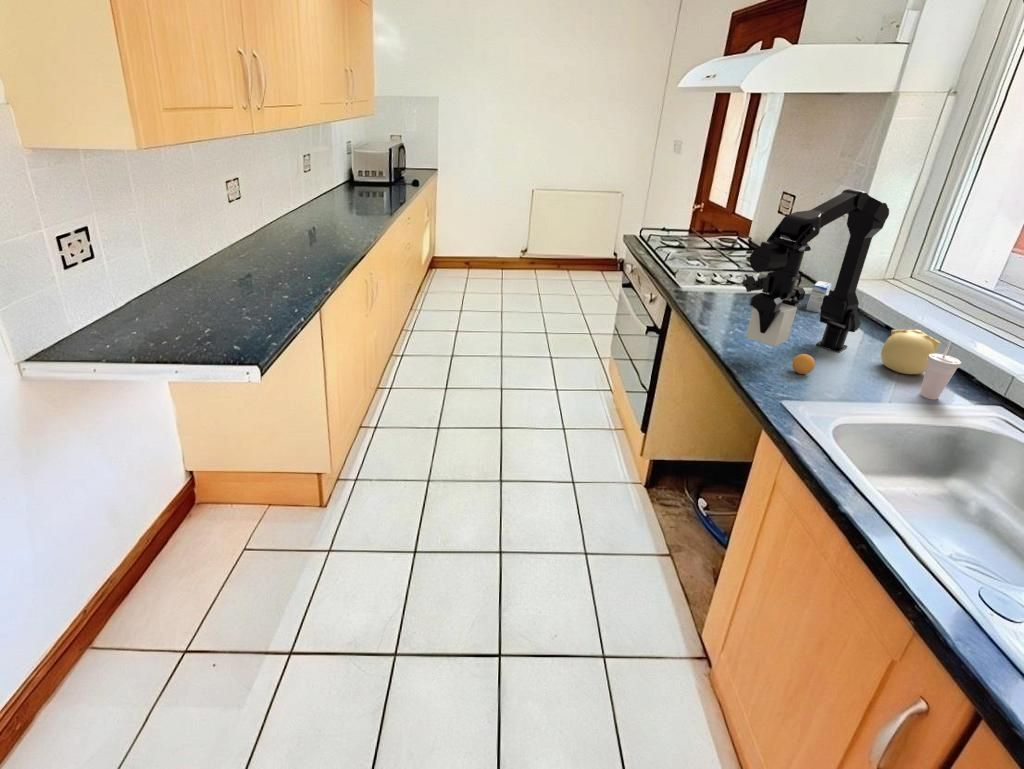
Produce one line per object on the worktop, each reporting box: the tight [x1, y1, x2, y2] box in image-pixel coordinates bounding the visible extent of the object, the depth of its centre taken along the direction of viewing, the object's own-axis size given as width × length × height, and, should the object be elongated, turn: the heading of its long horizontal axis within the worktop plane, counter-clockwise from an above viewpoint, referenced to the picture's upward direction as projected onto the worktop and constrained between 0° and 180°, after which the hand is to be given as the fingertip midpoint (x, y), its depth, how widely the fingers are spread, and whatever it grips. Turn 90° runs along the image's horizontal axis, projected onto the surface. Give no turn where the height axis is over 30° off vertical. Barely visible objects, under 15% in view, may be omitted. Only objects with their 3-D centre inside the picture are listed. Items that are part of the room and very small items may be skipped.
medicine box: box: [806, 280, 832, 314], centre depth 192 cm, size 8×4×9 cm, turn 144°
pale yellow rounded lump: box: [880, 329, 942, 375], centre depth 147 cm, size 12×12×11 cm
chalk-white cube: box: [745, 303, 798, 348], centre depth 145 cm, size 8×8×9 cm
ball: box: [791, 353, 816, 375], centre depth 141 cm, size 5×5×5 cm
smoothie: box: [919, 339, 962, 400], centre depth 132 cm, size 6×6×14 cm
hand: (769, 329), depth 145 cm, fingers closed on chalk-white cube, 8 cm apart
